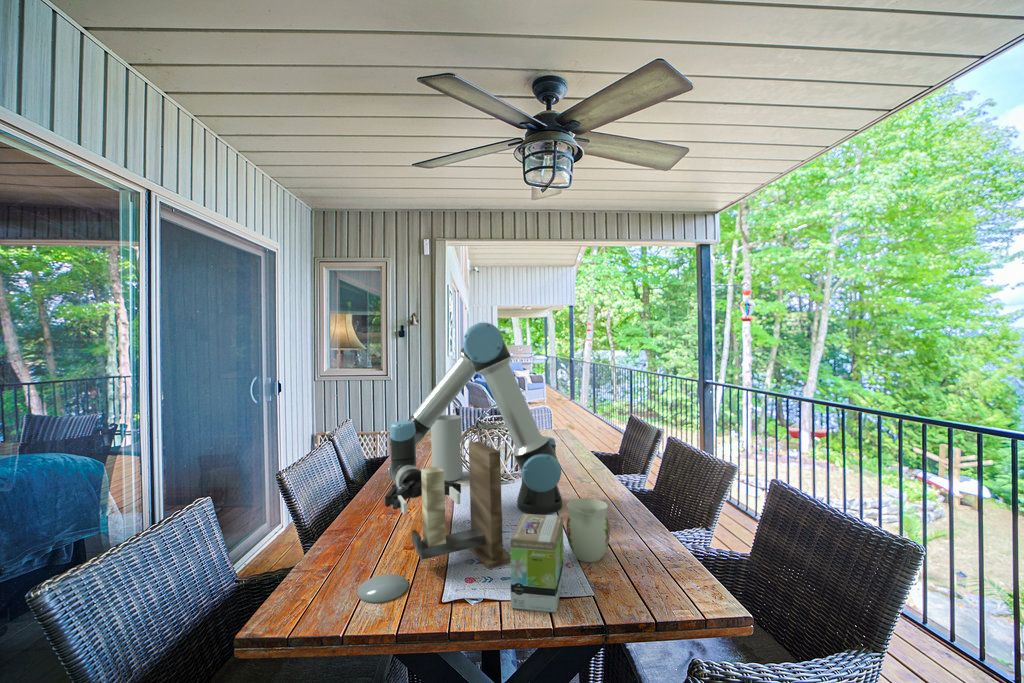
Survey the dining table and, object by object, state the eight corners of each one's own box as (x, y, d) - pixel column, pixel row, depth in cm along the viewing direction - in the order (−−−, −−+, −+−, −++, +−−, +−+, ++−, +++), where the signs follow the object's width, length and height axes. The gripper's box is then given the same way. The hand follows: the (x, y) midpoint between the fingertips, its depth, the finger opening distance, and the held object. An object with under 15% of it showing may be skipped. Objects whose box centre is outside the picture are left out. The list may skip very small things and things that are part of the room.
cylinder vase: (460, 482, 184) (459, 419, 184) (429, 482, 184) (427, 420, 184) (464, 473, 196) (462, 414, 196) (435, 473, 196) (433, 415, 196)
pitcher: (606, 539, 127) (605, 490, 127) (613, 572, 110) (612, 514, 110) (566, 539, 129) (565, 489, 129) (567, 571, 111) (565, 514, 111)
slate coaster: (408, 574, 111) (408, 571, 111) (407, 598, 101) (407, 596, 101) (360, 580, 109) (360, 577, 109) (354, 606, 98) (354, 603, 98)
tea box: (558, 614, 94) (556, 541, 94) (509, 609, 96) (507, 538, 96) (564, 576, 108) (563, 513, 108) (522, 573, 110) (521, 511, 110)
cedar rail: (440, 536, 118) (438, 466, 118) (445, 543, 114) (444, 470, 114) (423, 540, 116) (421, 469, 116) (428, 547, 112) (426, 473, 112)
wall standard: (488, 538, 130) (485, 439, 130) (513, 562, 116) (510, 450, 116) (407, 557, 120) (404, 450, 120) (424, 586, 106) (421, 464, 106)
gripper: (453, 487, 138) (480, 509, 119) (367, 502, 127) (381, 529, 108) (452, 462, 138) (479, 480, 119) (366, 475, 127) (380, 497, 108)
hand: (432, 503), depth 114 cm, fingers open, 13 cm apart
